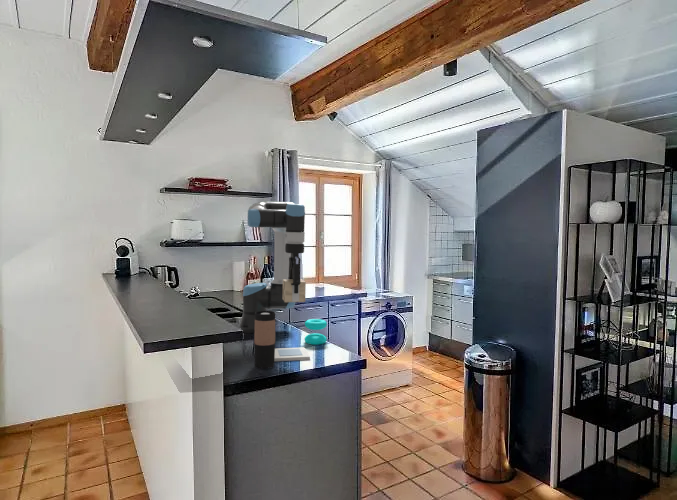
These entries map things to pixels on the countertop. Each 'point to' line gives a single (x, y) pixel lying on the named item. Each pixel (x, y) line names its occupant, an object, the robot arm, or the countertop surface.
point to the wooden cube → (288, 290)
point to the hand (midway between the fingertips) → (293, 299)
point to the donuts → (315, 337)
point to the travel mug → (264, 339)
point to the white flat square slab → (291, 354)
